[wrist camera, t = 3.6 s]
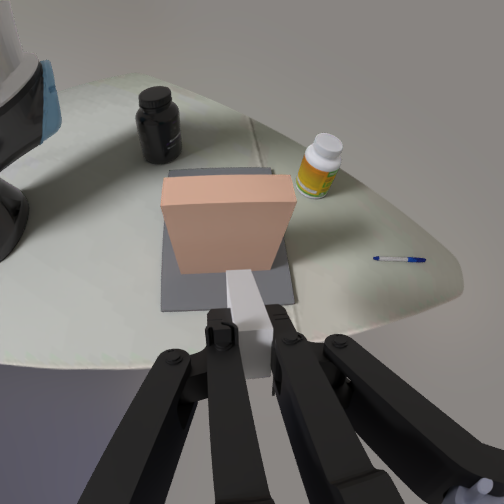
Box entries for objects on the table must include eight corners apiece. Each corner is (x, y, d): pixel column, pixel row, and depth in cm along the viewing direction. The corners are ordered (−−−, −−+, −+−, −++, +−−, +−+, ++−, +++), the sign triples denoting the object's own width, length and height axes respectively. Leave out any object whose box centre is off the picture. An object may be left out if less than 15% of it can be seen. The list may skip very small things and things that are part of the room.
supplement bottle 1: (183, 162, 43) (177, 101, 32) (142, 168, 41) (128, 109, 31) (181, 136, 46) (177, 80, 35) (144, 142, 44) (133, 87, 34)
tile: (270, 269, 35) (296, 201, 23) (181, 274, 33) (160, 205, 21) (266, 246, 36) (289, 172, 24) (181, 250, 35) (164, 175, 22)
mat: (293, 304, 34) (294, 303, 33) (161, 311, 32) (160, 310, 31) (270, 170, 44) (270, 167, 43) (169, 172, 41) (169, 170, 41)
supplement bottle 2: (319, 205, 41) (341, 161, 33) (289, 188, 42) (304, 141, 34) (331, 185, 44) (352, 142, 35) (303, 169, 45) (319, 124, 36)
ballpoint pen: (423, 258, 39) (426, 255, 39) (424, 263, 39) (427, 260, 38) (372, 257, 38) (375, 254, 37) (373, 263, 38) (376, 260, 37)
